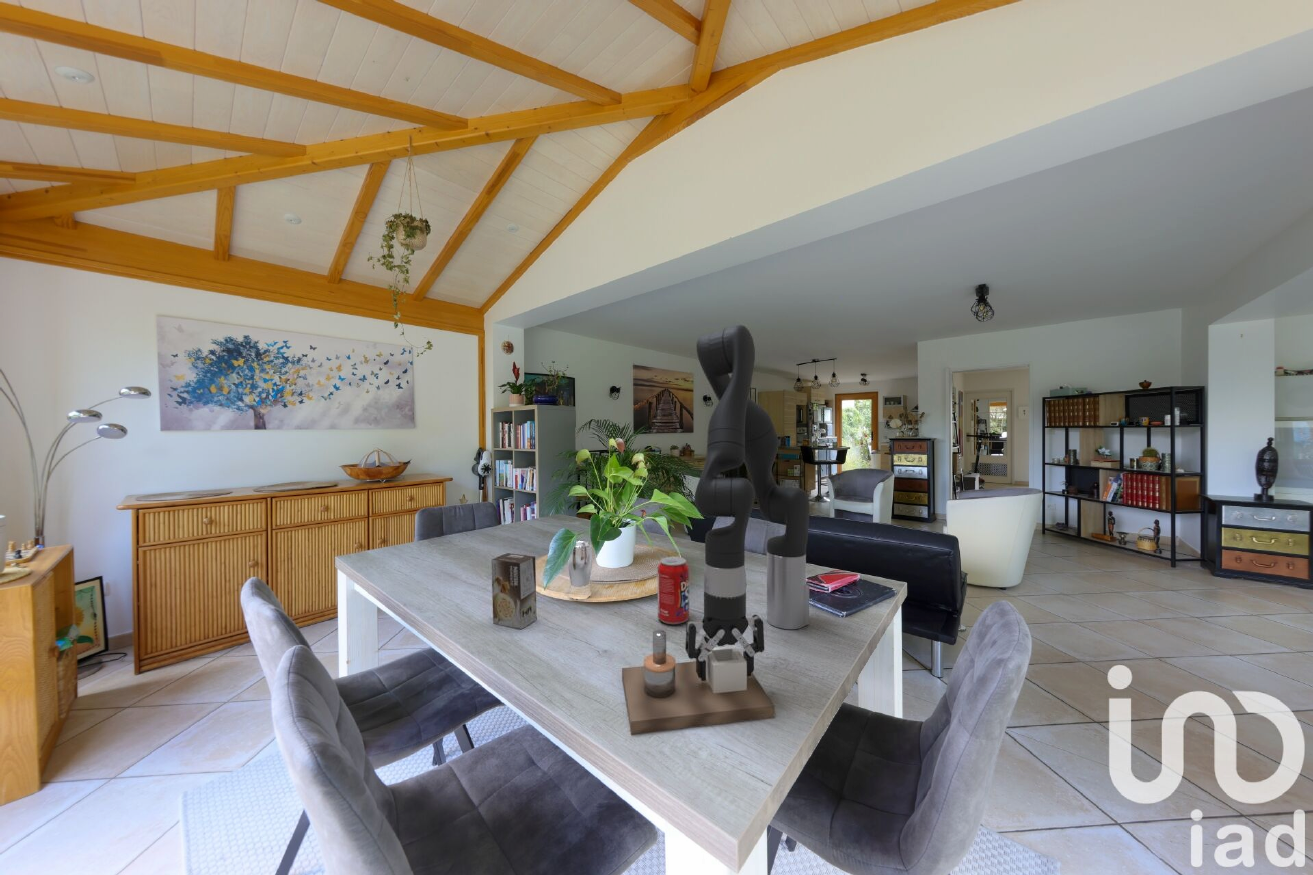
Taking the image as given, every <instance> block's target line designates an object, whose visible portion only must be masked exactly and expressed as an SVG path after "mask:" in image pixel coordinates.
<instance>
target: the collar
mask: <svg viewBox="0 0 1313 875" xmlns="http://www.w3.org/2000/svg"><path fill="white" fill-rule="evenodd" d="M705 660H706V679H707V681H708V683H709V685H710V687H711V689H712V691H713V693H723V692H732V691H742V690H747V662H746V660H745V659H744V657H743V654H742V653H741V652H740V650H739V648H738V647H737V646H736V645H727V646H726V645H725V646H717V647H716V646H715V647H714V649H713V650H712V651H711V652H709V653H708V655H707V656H706V658H705Z"/></svg>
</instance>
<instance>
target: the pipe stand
mask: <svg viewBox="0 0 1313 875" xmlns="http://www.w3.org/2000/svg"><path fill="white" fill-rule="evenodd" d="M753 673H754V672H752V673H751V676H747V690H742V691H732V692H723V693H713V691H712V689H711V687H710V685H709V683H708V681H707V679H706V681H701V678H699V677H698V675H697V672H696V660H694V661H686V662H684V661H683V662H676V658H675V657H674V656H672V655H671V654H668V653H667V631H665V630H662V629H657V630H656V629H655V630H654V631H653V632H652V654H649V655H647V656H645V658H643V666H642V665H640V666H630V667H622V668H621V679H622V680H621V681H622V687H623V692H624V698H625V700H624V701H625V705H626V706H625V707H626V711H627V712H626V713H627V716H628V717H627V718H628V722H629V730H630V734H631V735H633V734H634V735H635V734H642V733H643V734H644V733H652V732H659V731H669V730H677V729H686V728H693V727H701V726H712V725H719V724H728V723H729V724H730V723H736V722H737V723H738V722H747V721H755V720H762V719H764V720H765V719H770V718H772V719H773V718H776V717H775V715H776V714H775V708H776V707H775V704H774V702H773V701H772V699H771V697H769V695H768V693H767V692H766V691H765V689H764V688H763V686H762V685H761V683H760V682H759V680H758V679H757V678H756V676H755V674H753Z"/></svg>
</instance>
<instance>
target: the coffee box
mask: <svg viewBox="0 0 1313 875" xmlns="http://www.w3.org/2000/svg"><path fill="white" fill-rule="evenodd" d="M490 561H491V563H490V564H491V590H492V591H491V594H492V595H491V598H492V599H491V600H492V624H494V625H499V626H505V627H509V628H514V629H520V630H523V629H524V628H526V627H527V626H529V625H531V624H533V623H534V622H535V621H536V620H538V618H537V616H538V615H537V612H538V611H537V576H536V575H537V573H536V556H535V555H527V554H519V553H511V552H510V553H509V552H508V553H504V554H501V555H499V556H496V557H495V558H493V559H491V560H490Z"/></svg>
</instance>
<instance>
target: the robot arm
mask: <svg viewBox="0 0 1313 875" xmlns="http://www.w3.org/2000/svg"><path fill="white" fill-rule="evenodd" d="M755 349H756V348H755V343H754V338H753V336H752V334H751V332H750V330H749V329H748V328H747V327H746V326H745V325H743V324H737V325H732V326H729V327H725V328H724V327H723V328H722V329H719V330H716V331H712V332H708V333H706V334H705V333H704V334H703V335H701V336H699V337H698V339H697V341H696V354H697V359H698V362H699V363H700V367H701V369H702V371H703V373H704V375H705V378H706V379H707V381H708V383H709V385H710V388H712V391H713V392H714V395H715V397H716V398H717V400H718V402H717V404H716V406H715V408H714V410H713V412H712V413H711V416H710V419H709V421H708V426H707V427H708V428H707V441H706V442H707V444H706V457H705V462H704V465H703V469H702V471H701V475H700V477H699V480H698V482H697V486H696V488H695V492H694V505H695V508H696V509H697V512H699V513H700V514H701V515H702V516H706V517H716V518H717V517H722V518H723V517H724V518H726V517H727V518H731V517H732V518H734V520H733V521H732V522H731V524H729V525H726V526H724V527H717V528H713V529H710V530H708V531H707V532H706V534H705V541H704V543H705V544H704V549H705V550H704V554H705V556H704V560H705V561H704V562H705V564H704V569H703V570H704V571H703V618H702V620H701V621H693V620H692V619H688V620H687V621H686V626H685V628H686V629H685V646H684V647H685V648H684V650H685V652H686V653H687V657H688V658H689V659H690V660H692V659H695V661H696V672H697V675H698V677H699V678H701V681H706V660H705V658H706V656H707V655H708V653H709V652H711V651H712V650H713V649H714V648H715V647H716V646H717V647H725V646H726V645H727V646H736V644H737V643H739V644H740V645H741V648H743V649H744V651H742V652H743V654H742V656H743V657H744V659H745V660H746V662H747V676H751V673H754V671H755V655H756V654H757V653H763V652H764V651H765V633H764V632H765V629H764V621H763V619H762V618H760V617H759V615H758V614H753V615H752V617H747V585H748V584H747V575H746V566H745V563H746V562H745V561H746V560H745V552H746V550H745V547H746V546H745V545H746V544H745V543H746V533H747V529H748V524H749V521H750V520H749V519H750V517H751V514H752V510H753V507H754V505H755V500H756V501H757V502H756V503H757V506H758V509H759V512H760V514H761V516H762V517H763V518H764V519H765V521H767V522H769V523H773V524H779V525H782V526H783V525H785V530H784V532H785V533H784V534H783V535H776V536H773V537H770V538H768V540H767V542H766V621H767V623H768V624H770V625H771V626H773V627H776V628H779V629H785V630H799V629H801V628H804V627H805V626H810V586H809V585H808V584H807V583H806V582H807V581H806V580H807V565H806V564H807V559H806V558H807V545H808V538H809V523H810V499H809V495H808V493H807V491H806V490H804V489H803V488H798V487H791V486H782V485H781V486H780V485H779V484H777V482H776V480H775V478H774V475H773V470H772V468H773V465H774V464H775V463H774V462H775V459H776V457H777V455H778V454H777V453H778V452H779V451H778V450H779V445H780V443H779V437H778V434H777V431H776V428H775V425H774V423H773V420H772V418H771V415H770V414H769V413H768V412H767V411H766V409H764V408H763V407H761V406H760V405H759V404H758V403H757V402H755V401H754V400H753V399H752V398H750V391H751V386H752V380H753V374H754V368H755V367H754V366H755V359H756V350H755ZM730 374H731V376H730ZM743 464H744V465H745V467H746V471H747V473H748V476H749V479H750V480H749V479H747V478H745V477H721V476H720V477H718V476H719V475H720V473H722V472H726V471H729V470H734V469H737V468H739V467H741V466H743ZM750 481H751V482H750ZM748 627H749V628H750V629H751V630H752V642H751V643H749V642H748V641H747V639H746V638H745V637H744V636H743V635H744V633H745V632H746V630H747V629H748ZM701 630H703V632H704V634H703V636H702V638H701V640H700V643H699V644H698V645H697V647H696V644H697V643H696V641H697V640H696V639H697V636H699V634H700V632H701Z"/></svg>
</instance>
